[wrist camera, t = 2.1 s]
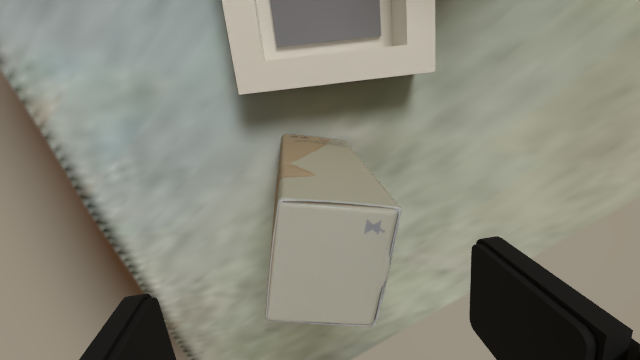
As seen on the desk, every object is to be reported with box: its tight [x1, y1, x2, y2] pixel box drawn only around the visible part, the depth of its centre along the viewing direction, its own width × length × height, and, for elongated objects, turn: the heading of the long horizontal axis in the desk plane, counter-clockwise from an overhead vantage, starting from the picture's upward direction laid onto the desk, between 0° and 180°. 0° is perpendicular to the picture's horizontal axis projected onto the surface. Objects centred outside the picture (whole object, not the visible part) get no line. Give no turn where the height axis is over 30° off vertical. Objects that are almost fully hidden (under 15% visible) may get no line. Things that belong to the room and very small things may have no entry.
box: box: [265, 134, 401, 327], centre depth 16 cm, size 5×4×11 cm
